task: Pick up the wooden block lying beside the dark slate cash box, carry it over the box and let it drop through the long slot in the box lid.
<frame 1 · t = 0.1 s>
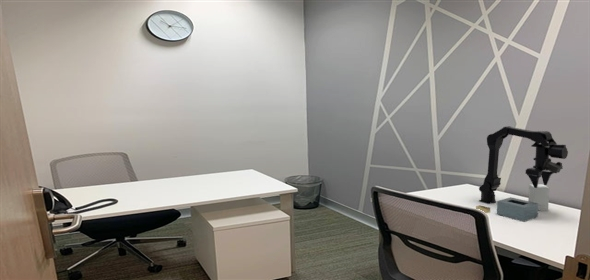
hand: (540, 186, 194), 15 cm above the table, tool pointing down, fingers open, 9 cm apart
supplement box: (537, 208, 204), on the table
cash box: (516, 215, 194), on the table
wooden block: (482, 211, 203), on the table
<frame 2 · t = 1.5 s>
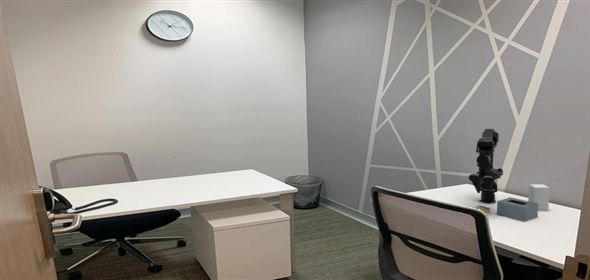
hand: (483, 191, 201), 11 cm above the table, tool pointing down, fingers open, 9 cm apart
nothing on the table moved.
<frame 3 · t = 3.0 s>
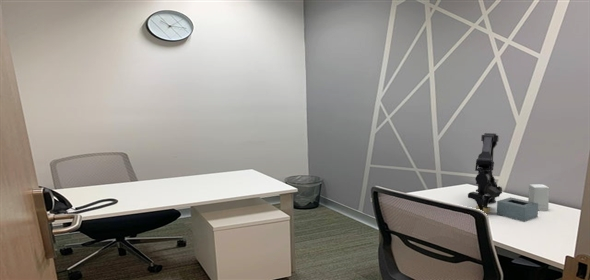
hand: (483, 209, 203), 1 cm above the table, tool pointing down, fingers closed on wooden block, 3 cm apart
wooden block: (483, 211, 203), on the table, touching gripper
everything else where it was.
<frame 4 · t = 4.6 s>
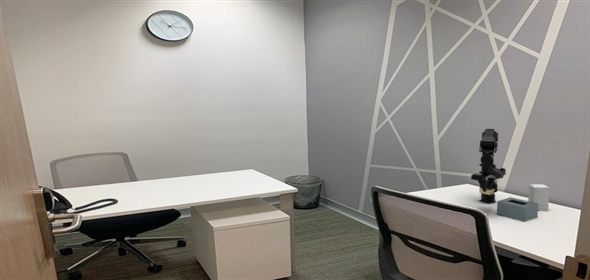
hand: (486, 191, 201), 11 cm above the table, tool pointing down, fingers closed on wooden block, 3 cm apart
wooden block: (486, 193, 201), point 10 cm above the table, touching gripper
everything else where it was.
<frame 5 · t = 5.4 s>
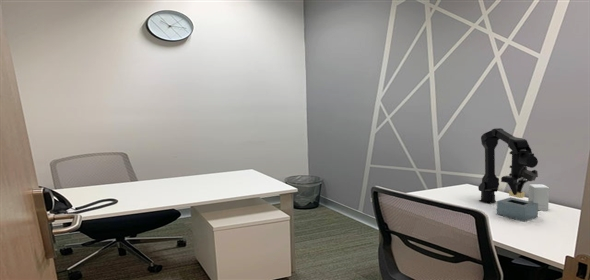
hand: (516, 194, 193), 11 cm above the table, tool pointing down, fingers closed on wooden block, 3 cm apart
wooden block: (516, 196, 193), point 10 cm above the table, touching gripper
everything else where it was.
when the fingers open (9 cm above the table, at t = 6.0 s): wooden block drops 8 cm, resting on cash box.
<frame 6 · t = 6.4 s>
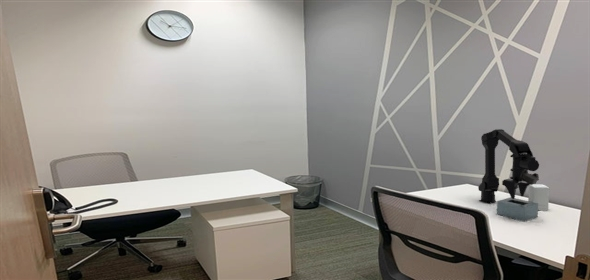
hand: (517, 197, 193), 9 cm above the table, tool pointing down, fingers open, 8 cm apart
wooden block: (516, 214, 194), point 1 cm above the table, touching cash box
everything else where it was.
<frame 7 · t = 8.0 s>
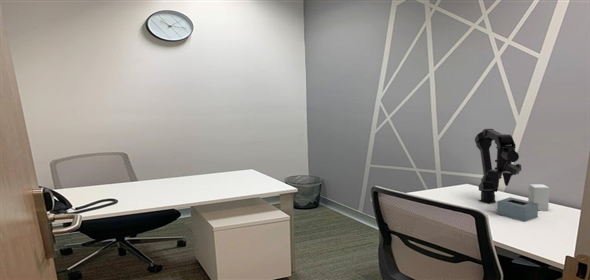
hand: (501, 187, 202), 13 cm above the table, tool pointing down, fingers open, 9 cm apart
nothing on the table moved.
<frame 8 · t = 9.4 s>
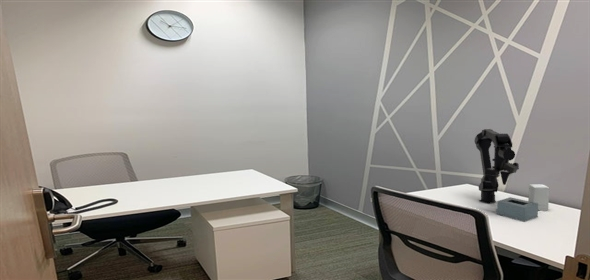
hand: (499, 185, 203), 13 cm above the table, tool pointing down, fingers open, 9 cm apart
nothing on the table moved.
at the end: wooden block inside the target area on the cash box (0.0 cm from its centre), point 0.8 cm above the cash box's base; the gripper is holding nothing; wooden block moved 15.7 cm from its start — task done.
